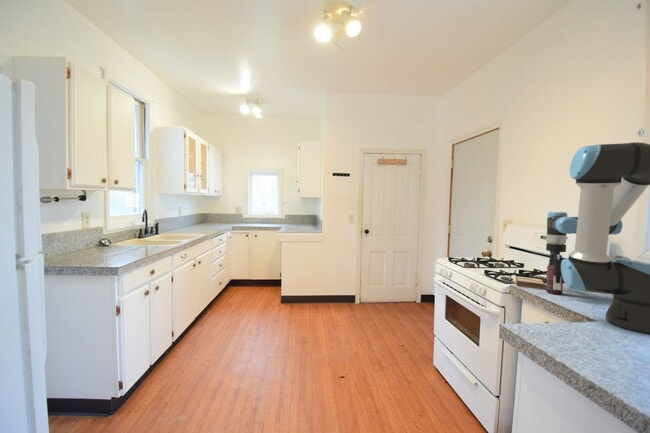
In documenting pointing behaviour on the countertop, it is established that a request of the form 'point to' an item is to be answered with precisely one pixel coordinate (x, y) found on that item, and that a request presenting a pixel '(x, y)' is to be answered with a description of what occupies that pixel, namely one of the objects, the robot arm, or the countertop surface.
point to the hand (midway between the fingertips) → (554, 286)
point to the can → (552, 281)
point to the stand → (530, 283)
